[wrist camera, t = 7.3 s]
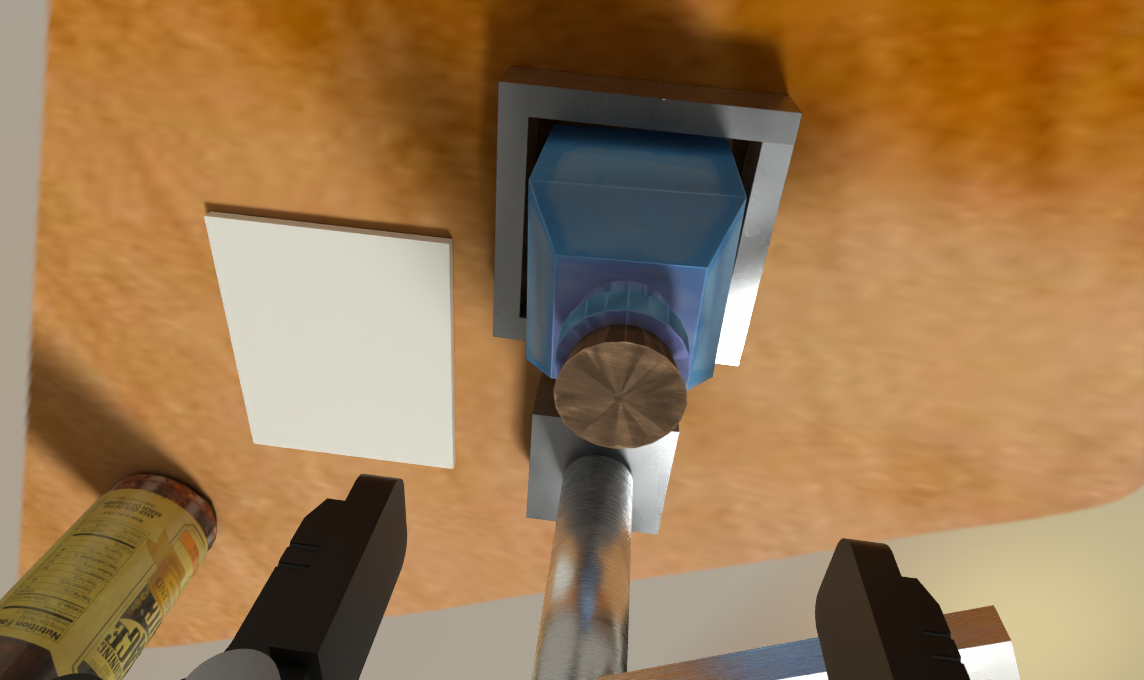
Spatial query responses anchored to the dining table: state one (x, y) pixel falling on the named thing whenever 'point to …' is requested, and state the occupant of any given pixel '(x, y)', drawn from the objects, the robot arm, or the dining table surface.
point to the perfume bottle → (629, 274)
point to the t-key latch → (601, 594)
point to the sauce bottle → (106, 582)
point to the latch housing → (519, 108)
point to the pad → (340, 336)
